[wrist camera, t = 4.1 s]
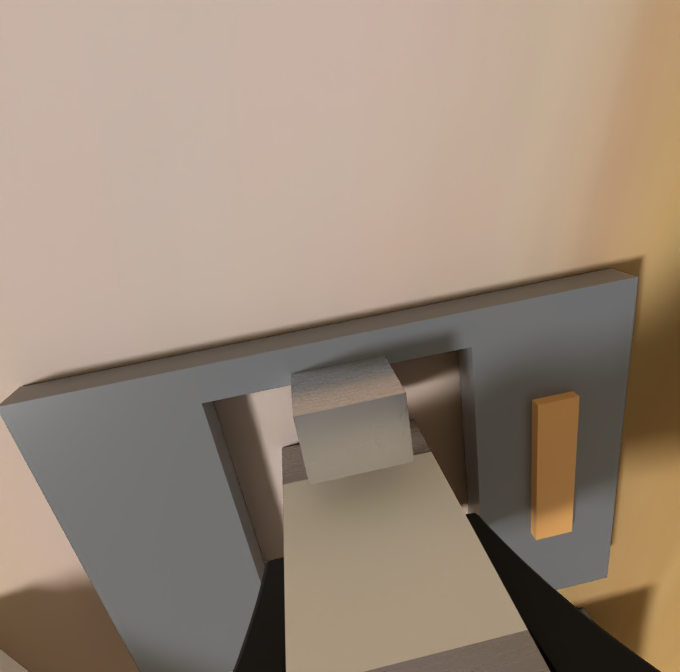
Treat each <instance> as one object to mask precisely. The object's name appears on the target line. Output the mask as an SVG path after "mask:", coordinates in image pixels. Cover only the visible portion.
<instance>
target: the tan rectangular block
mask: <svg viewBox="0 0 680 672" xmlns="http://www.w3.org/2000/svg"><path fill="white" fill-rule="evenodd" d="M409 423H410V431H411V440H412V448H413V456H414V462H409V463H405V464H400V465H396V466H391V467H387V468H383V469H378V470H374V471H369V472H365V473H360V474H356V475H351V476H347V477H342V478H338V479H334V480H329V481H325V482H320V483H316V484H311V485H309V481H308V477H307V472H306V468H305V464H304V460H303V456H302V451H301V447H300V444H298V445H293V446H289V447H284V448H282V472H283V531H284V590H285V648H286V672H550V670H549V668H548V666H547V664H546V662H545V661H544V659H543V657H542V655H541V653H540V651H539V650H538V648H537V646H536V644H535V642H534V640H533V638H532V637H531V635H530V633H529V631H528V629H527V627H526V626H525V624H524V622H523V620H522V618H521V616H520V614H519V613H518V611H517V609H516V607H515V605H514V603H513V602H512V600H511V598H510V596H509V594H508V592H507V590H506V589H505V587H504V585H503V583H502V581H501V579H500V578H499V576H498V574H497V572H496V570H495V568H494V566H493V565H492V563H491V561H490V559H489V557H488V555H487V554H486V552H485V550H484V548H483V546H482V544H481V543H480V541H479V539H478V537H477V535H476V533H475V531H474V530H473V528H472V526H471V524H470V522H469V520H468V519H467V517H466V515H465V513H464V511H463V509H462V507H461V506H460V504H459V502H458V500H457V498H456V496H455V495H454V493H453V491H452V489H451V487H450V485H449V483H448V482H447V480H446V478H445V476H444V474H443V472H442V471H441V469H440V467H439V465H438V463H437V461H436V459H435V458H434V456H433V454H432V452H431V450H430V448H429V447H428V445H427V443H426V441H425V439H424V437H423V435H422V434H421V432H420V430H419V428H418V426H417V424H416V423H415V421H414V419H413V420H409Z"/></svg>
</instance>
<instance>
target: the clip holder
mask: <svg viewBox="0 0 680 672" xmlns="http://www.w3.org/2000/svg"><path fill="white" fill-rule="evenodd" d="M637 286H638V276H635V275H631V274H628V273H625V272H621V271H618V270H615V269H612V268H609V269H605V270H600V271H595V272H590V273H585V274H580V275H575V276H570V277H565V278H560V279H555V280H550V281H545V282H540V283H535V284H530V285H525V286H520V287H515V288H510V289H505V290H500V291H495V292H490V293H485V294H480V295H475V296H470V297H465V298H460V299H455V300H450V301H445V302H440V303H435V304H431V305H426V306H421V307H416V308H411V309H406V310H401V311H396V312H391V313H386V314H381V315H376V316H371V317H366V318H361V319H356V320H351V321H346V322H341V323H336V324H331V325H326V326H321V327H316V328H311V329H306V330H301V331H296V332H291V333H286V334H281V335H276V336H271V337H266V338H261V339H256V340H252V341H247V342H242V343H237V344H232V345H227V346H222V347H217V348H212V349H207V350H202V351H197V352H192V353H187V354H182V355H177V356H172V357H167V358H162V359H157V360H152V361H147V362H142V363H137V364H132V365H127V366H122V367H117V368H112V369H107V370H102V371H97V372H92V373H87V374H82V375H78V376H73V377H68V378H63V379H58V380H53V381H48V382H43V383H38V384H33V385H28V386H23V387H19V388H18V389H17V390H16V391H15V392H14V393H12V394H11V395H10V396H9V397H8V398H7V399H5V400H4V401H3V402H2V403H1V404H0V415H1V417H2V419H3V420H4V422H5V424H6V426H7V428H8V430H9V432H10V433H11V435H12V437H13V439H14V441H15V443H16V444H17V446H18V448H19V450H20V452H21V454H22V455H23V457H24V459H25V461H26V463H27V465H28V467H29V468H30V470H31V472H32V474H33V476H34V478H35V479H36V481H37V483H38V485H39V487H40V489H41V491H42V492H43V494H44V496H45V498H46V500H47V502H48V503H49V505H50V507H51V509H52V511H53V513H54V514H55V516H56V518H57V520H58V522H59V524H60V526H61V527H62V529H63V531H64V533H65V535H66V537H67V538H68V540H69V542H70V544H71V546H72V548H73V550H74V551H75V553H76V555H77V557H78V559H79V561H80V562H81V564H82V566H83V568H84V570H85V572H86V573H87V575H88V577H89V579H90V581H91V583H92V585H93V586H94V588H95V590H96V592H97V594H98V596H99V597H100V599H101V601H102V603H103V605H104V607H105V609H106V610H107V612H108V614H109V616H110V618H111V620H112V621H113V623H114V625H115V627H116V629H117V631H118V632H119V634H120V636H121V638H122V640H123V642H124V644H125V645H126V647H127V649H128V651H129V653H130V655H131V656H132V658H133V660H134V662H135V664H136V666H137V668H138V669H139V671H140V672H230V671H233V670H234V667H235V665H236V662H237V659H238V656H239V653H240V650H241V647H242V644H243V641H244V639H245V636H246V633H247V630H248V627H249V624H250V621H251V617H252V614H253V611H254V607H255V604H256V601H257V597H258V593H259V590H260V586H261V582H262V578H263V573H264V569H265V564H264V561H263V558H262V555H261V551H260V548H259V545H258V542H257V539H256V536H255V533H254V529H253V526H252V523H251V520H250V517H249V514H248V511H247V507H246V504H245V501H244V498H243V495H242V492H241V488H240V485H239V482H238V479H237V476H236V473H235V470H234V466H233V463H232V460H231V457H230V454H229V451H228V448H227V444H226V441H225V438H224V435H223V432H222V429H221V426H220V422H219V419H218V416H217V413H216V410H215V407H214V404H213V401H216V400H221V399H226V398H230V397H235V396H240V395H245V394H249V393H254V392H259V391H264V390H269V389H273V388H278V387H283V386H288V385H291V390H292V406H293V418H294V422H295V426H296V431H297V435H298V439H299V443H300V447H301V451H302V456H303V460H304V464H305V468H306V472H307V477H308V481H309V485H311V484H316V483H320V482H325V481H329V480H334V479H338V478H342V477H347V476H351V475H356V474H360V473H365V472H369V471H374V470H378V469H383V468H387V467H391V466H396V465H400V464H405V463H409V462H414V456H413V448H412V440H411V431H410V423H409V415H408V406H407V398H406V392H405V390H404V388H403V387H402V385H401V383H400V381H399V380H398V378H397V376H396V374H395V373H394V371H393V369H392V367H391V366H390V364H393V363H398V362H403V361H407V360H412V359H417V358H422V357H426V356H431V355H436V354H441V353H446V352H450V351H455V350H458V354H459V370H460V386H461V402H462V418H463V433H464V449H465V465H466V481H467V496H468V512H469V514H470V513H476V514H478V515H479V516H480V517H481V518H482V519H483V520H484V521H485V523H486V524H487V525H488V526H489V527H490V528H491V529H492V530H493V531H494V532H495V533H496V534H497V535H498V536H499V537H500V538H501V539H502V540H503V541H504V542H505V543H506V544H507V545H508V546H509V547H510V548H511V549H512V550H513V551H514V552H515V553H516V554H517V555H518V556H519V557H520V558H521V559H522V560H523V561H524V562H525V563H527V564H528V565H529V566H530V567H531V568H532V569H533V570H534V571H535V572H536V573H537V574H539V575H540V576H541V577H542V578H543V579H544V580H545V581H546V582H547V583H548V584H550V585H551V586H552V587H553V588H554V589H555V590H558V589H562V588H566V587H570V586H574V585H578V584H582V583H586V582H590V581H594V580H598V579H602V578H606V577H607V573H608V564H609V554H610V545H611V535H612V526H613V516H614V506H615V497H616V487H617V478H618V468H619V458H620V449H621V439H622V430H623V420H624V410H625V401H626V391H627V382H628V372H629V363H630V353H631V343H632V334H633V324H634V315H635V305H636V295H637Z"/></svg>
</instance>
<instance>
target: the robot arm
mask: <svg viewBox="0 0 680 672" xmlns="http://www.w3.org/2000/svg"><path fill="white" fill-rule="evenodd" d="M466 517H467V519H468V520H469V522H470V524H471V526H472V528H473V530H474V531H475V533H476V535H477V537H478V539H479V541H480V543H481V544H482V546H483V548H484V550H485V552H486V554H487V555H488V557H489V559H490V561H491V563H492V565H493V566H494V568H495V570H496V572H497V574H498V576H499V578H500V579H501V581H502V583H503V585H504V587H505V589H506V590H507V592H508V594H509V596H510V598H511V600H512V602H513V603H514V605H515V607H516V609H517V611H518V613H519V614H520V616H521V618H522V620H523V622H524V624H525V626H526V627H527V629H528V631H529V633H530V635H531V637H532V638H533V640H534V642H535V644H536V646H537V648H538V650H539V651H540V653H541V655H542V657H543V659H544V661H545V662H546V664H547V666H548V668H549V670H550V672H661V671H659V670H658V669H656V668H655V667H653V666H652V665H651V664H649V663H648V662H646V661H645V660H644V659H642V658H641V657H639V656H638V655H637V654H635V653H634V652H633V651H631V650H630V649H629V648H627V647H626V646H624V645H623V644H622V643H620V642H619V641H618V640H616V639H615V638H614V637H612V636H611V635H610V634H609V633H607V632H606V631H605V630H603V629H602V628H601V627H600V626H598V625H597V624H596V623H595V622H593V621H592V620H591V619H590V618H588V617H587V616H586V615H585V614H584V613H582V612H581V611H580V610H579V609H578V608H576V607H575V606H574V605H573V604H571V603H570V602H569V601H568V600H567V599H566V598H564V597H563V596H562V595H561V594H560V593H559V592H557V591H556V590H555V589H554V588H553V587H552V586H551V585H550V584H548V583H547V582H546V581H545V580H544V579H543V578H542V577H541V576H540V575H539V574H537V573H536V572H535V571H534V570H533V569H532V568H531V567H530V566H529V565H528V564H527V563H525V562H524V561H523V560H522V559H521V558H520V557H519V556H518V555H517V554H516V553H515V552H514V551H513V550H512V549H511V548H510V547H509V546H508V545H507V544H506V543H505V542H504V541H503V540H502V539H501V538H500V537H499V536H498V535H497V534H496V533H495V532H494V531H493V530H492V529H491V528H490V527H489V526H488V525H487V524H486V523H485V521H484V520H483V519H482V518H481V517H480V516H479V515H478V514H476V513H470V514H466ZM233 672H286V648H285V590H284V557H283V558H279V559H274V560H270V561H268V562H267V564H266V565H265V569H264V573H263V578H262V582H261V586H260V590H259V593H258V597H257V601H256V604H255V607H254V611H253V614H252V617H251V621H250V624H249V627H248V630H247V633H246V636H245V639H244V641H243V644H242V647H241V650H240V653H239V656H238V659H237V662H236V665H235V667H234V670H233Z"/></svg>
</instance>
